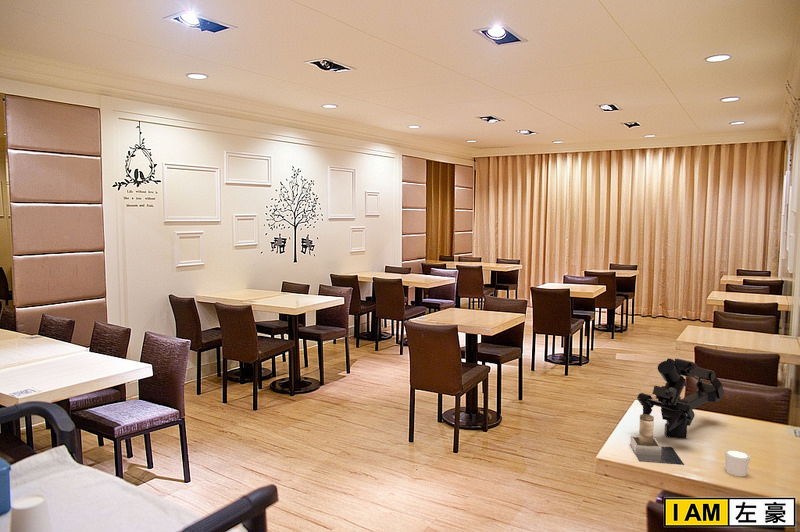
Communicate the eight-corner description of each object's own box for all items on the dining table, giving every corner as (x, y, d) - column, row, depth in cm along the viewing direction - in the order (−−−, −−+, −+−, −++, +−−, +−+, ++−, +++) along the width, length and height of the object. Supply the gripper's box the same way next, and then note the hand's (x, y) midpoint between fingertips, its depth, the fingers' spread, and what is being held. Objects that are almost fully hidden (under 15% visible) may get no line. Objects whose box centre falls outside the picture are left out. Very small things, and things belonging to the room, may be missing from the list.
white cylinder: (748, 482, 172) (750, 460, 171) (723, 476, 176) (724, 455, 175) (748, 473, 178) (750, 452, 177) (724, 468, 182) (725, 447, 181)
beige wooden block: (653, 449, 194) (655, 415, 193) (650, 453, 190) (652, 419, 189) (640, 446, 196) (641, 413, 195) (637, 450, 193) (638, 417, 192)
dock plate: (672, 449, 196) (672, 438, 195) (684, 467, 182) (685, 456, 182) (629, 446, 198) (630, 436, 198) (638, 464, 185) (639, 452, 184)
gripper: (640, 371, 205) (622, 406, 200) (692, 383, 191) (674, 422, 185) (650, 387, 211) (634, 422, 205) (702, 400, 196) (685, 439, 191)
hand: (655, 426), depth 196 cm, fingers open, 9 cm apart
